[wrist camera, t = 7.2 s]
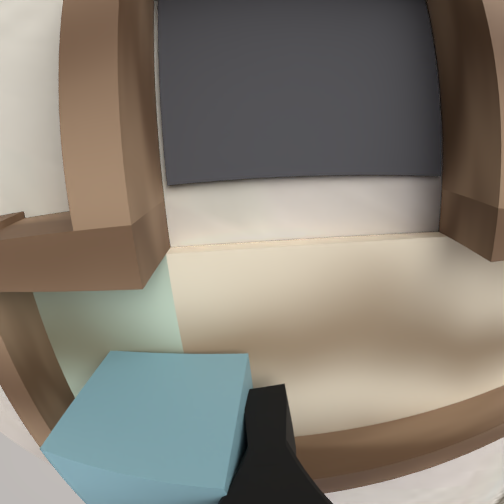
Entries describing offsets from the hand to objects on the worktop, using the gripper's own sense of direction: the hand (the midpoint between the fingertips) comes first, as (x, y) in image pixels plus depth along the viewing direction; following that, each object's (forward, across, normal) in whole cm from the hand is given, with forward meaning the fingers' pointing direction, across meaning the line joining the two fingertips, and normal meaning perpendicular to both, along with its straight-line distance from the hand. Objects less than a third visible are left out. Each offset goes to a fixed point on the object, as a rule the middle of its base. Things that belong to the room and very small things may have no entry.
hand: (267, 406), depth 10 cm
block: (+1, +3, 0) cm, 3 cm away
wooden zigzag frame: (+2, -2, -5) cm, 6 cm away
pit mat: (+2, -3, -10) cm, 11 cm away
